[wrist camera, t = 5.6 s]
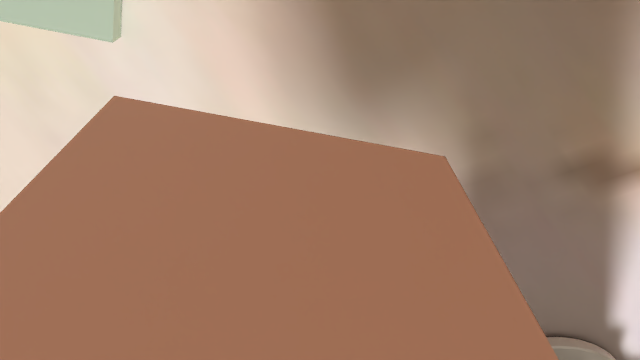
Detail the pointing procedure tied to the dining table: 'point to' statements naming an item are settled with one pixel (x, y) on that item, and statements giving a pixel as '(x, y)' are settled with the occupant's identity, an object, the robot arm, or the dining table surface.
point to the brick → (250, 250)
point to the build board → (67, 16)
